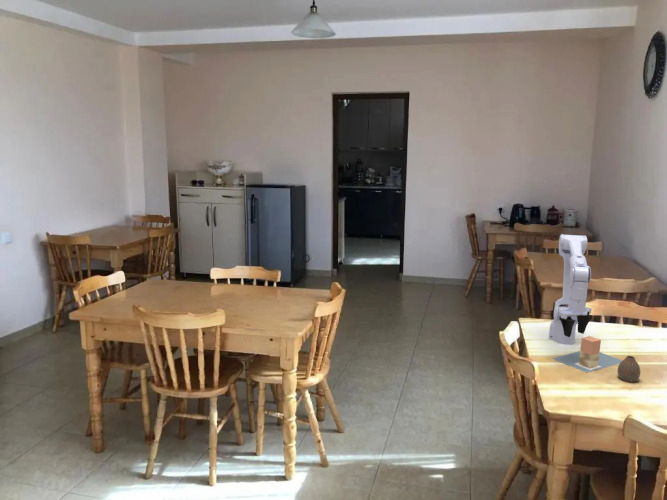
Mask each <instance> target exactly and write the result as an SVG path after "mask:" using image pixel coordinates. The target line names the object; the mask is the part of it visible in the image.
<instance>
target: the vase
mask: <svg viewBox="0 0 667 500" xmlns="http://www.w3.org/2000/svg"><path fill="white" fill-rule="evenodd" d="M617 376H618V378H619V379H620V380H621V381H623V382H626V383H627V382H628V383H636V382H637V381H638V380H639V379H640V377H641V367H640V365H639V363H638V361H637V360H636V358H635V357H634V356H632V355H627V356H625V358H624V359H623V361H622V362H621V363H619V364H618V367H617Z"/></svg>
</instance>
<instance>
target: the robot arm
mask: <svg viewBox="0 0 667 500" xmlns="http://www.w3.org/2000/svg"><path fill="white" fill-rule="evenodd" d="M587 247H588V238H587V236H586V234H585V235H577V234H576V235H575V234H563V233H561V234H560V235H559V239H558V255H559V256H560V257H562V258H563V278H562V279H563V280H562V281H563V282H562V297H561V298H558V299H557V300H556V301H555V302H554V308H553V319H552V321H551V322H550V324H549V331H548V339H549V340H551V341H554V342H556V343H557V344H561V345H566V346H567V345H569V346H570V345H573V344H575V339H576V330H577V333H579V334H582V335H583V334H585V331H586V329H587V327H588V325H589V322H590V321H591V320H592V319H593V315H592V308H590V307H587V306H586V305H587V295H588V287H589V283H590V282H591V278H592V270H591V266H589V265H588V263H587V258H586V257H585V255H584V254H585V252H586V250H587Z"/></svg>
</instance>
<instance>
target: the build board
mask: <svg viewBox="0 0 667 500" xmlns="http://www.w3.org/2000/svg"><path fill="white" fill-rule="evenodd" d="M551 359H552V360H555V361H557V362H559V363H562V364H564V365H567V366H570V367H572V368H574V369H576V370H579V371H581V372H584V373H586V374H588V373H592V372H595V371H598V370H601V369H605V368H609V367H612V366H616V365H619V364H620V363H621V362H622V361H623V360H624V359H623V360H622V359H619V358H617V357H614V356H612V355H610V354H609V355H608V354H606V353H603V352H601V351H600V353H599V361H598V366H597V367H594V368H587V367H585V366H582V365H580V364H579V359H580V350H579V351H575V352H571V353H567V354H563V355H559V356H555V357H552V358H551Z"/></svg>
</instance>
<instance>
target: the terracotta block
mask: <svg viewBox="0 0 667 500" xmlns="http://www.w3.org/2000/svg"><path fill="white" fill-rule="evenodd" d="M601 343H602V339H600V338H596V337H594V336H590V335H588V336H584V337H581V342H580V350H579V351H581V352H584V353H587V354H589V355H594V354H598V353H600V352H601Z"/></svg>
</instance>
